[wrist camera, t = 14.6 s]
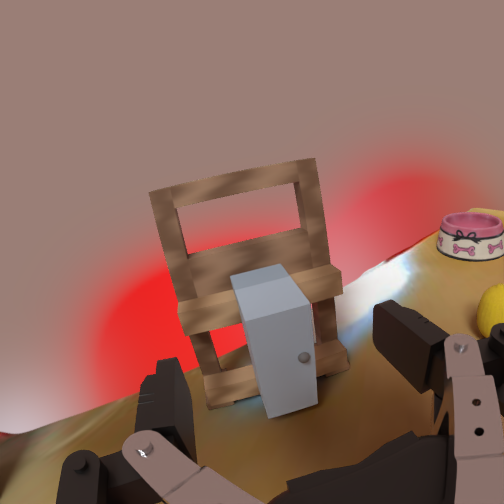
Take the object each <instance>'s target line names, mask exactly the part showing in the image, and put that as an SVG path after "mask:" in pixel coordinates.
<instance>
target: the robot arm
mask: <svg viewBox="0 0 504 504" xmlns="http://www.w3.org/2000/svg"><path fill="white" fill-rule="evenodd" d="M373 342H374V345H375V347H376V349H377V350H378V351H379V352H380V353H381V354H382V355H383V356H384V357H385V358H386V359H387V360H388V361H389V362H390V363H391V364H392V365H393V366H394V367H395V368H396V369H397V370H398V371H399V372H400V373H401V374H402V375H403V376H404V377H405V378H406V379H407V380H408V381H409V383H410V384H411V385H412V386H413V387H414V388H415V389H416V390H417V391H418V392H419V393H420V394H422V393H424V392H426V391H428V390H429V389H432V390H433V394H432V412H431V431H430V435H426V436H421V437H417V436H416V435H415V434H414V433H413V431H410V432H408V433H406V434H404V435H402V436H400V437H398V438H396V439H394V440H392V441H390V442H388V443H386V444H384V445H383V446H382V447H380V448H379V449H378V450H377V451H375V452H374V453H373V454H371V455H370V456H369V457H367V458H366V459H364V460H363V461H362V462H360V463H358V464H356V465H351V466H346V467H340V468H334V469H327V470H320V471H317V472H314V473H311V474H308V475H305V476H302V477H299V478H295V479H292V480H289V481H286V482H287V487H288V490H286V491H284V492H283V493H281V494H279V495H278V496H276V497H275V498H273V499H272V500H271V501H270V502H269V503H268V504H504V438H503V430H502V422H501V415H502V416H503V417H504V323H498V324H495V325H494V326H493V327H492V328H491V332H490V336H489V337H488V338H484V339H480V340H477V341H476V340H475V339H474V338H473V337H471V336H469V335H466V334H453V335H451V336H450V335H449V334H448V333H446V332H445V331H444V330H442V329H441V328H439V327H438V326H437V325H435V324H434V323H432V322H429V320H428V319H427V318H425V317H423V316H422V315H421V314H420V313H418V312H417V311H415V310H412V309H409V308H406V307H402V306H400V305H399V304H398V303H396V302H395V301H393V300H388V301H385V302H382V303H379V304H376V305H375V306H374V308H373ZM139 395H140V396H139V401H138V403H139V404H138V408H137V415H136V423H135V432H134V434H132V435H131V436H129V437H128V438H127V439H126V441H125V442H124V444H123V447H122V450H121V451H119V452H116V453H113V454H110V455H107V456H104V457H101V458H99V457H98V456H97V455H96V454H95V453H93V452H92V451H89V450H79V451H76V452H74V453H72V454H70V455H69V456H68V457H67V458H66V459H65V461H64V463H63V466H62V471H61V476H60V481H59V487H58V493H57V499H56V504H156V503H158V502H161V501H162V502H163V503H164V504H265V503H263V502H261V501H259V500H258V499H256V498H254V497H253V496H251V495H250V494H248V493H246V492H245V491H243V490H242V489H240V488H239V487H237V486H236V485H234V484H232V483H231V482H229V481H228V480H227V479H225V478H224V477H222V476H221V475H219V474H218V473H216V472H215V471H214V470H212V469H211V468H209V467H207V466H203V467H200V466H198V465H197V457H196V446H195V435H194V423H193V410H192V399H191V394H190V390H189V387H188V385H187V382H186V379H185V377H184V374H183V372H182V369H181V366H180V363H179V361H178V359H177V357H174V358H169V359H163V360H158V361H157V366H156V374H153V375H147V377H146V378H145V380H144V381H143V382H142V384H141V387H140V394H139ZM500 414H501V415H500Z"/></svg>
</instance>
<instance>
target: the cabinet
mask: <svg viewBox="0 0 504 504" xmlns="http://www.w3.org/2000/svg"><path fill="white" fill-rule="evenodd" d="M230 279H231V283H232V287H233V291H234V294H235V297H236V300H237V303H238V307H239V311H240V315H241V320H242V324H243V328H244V332H245V336H246V341H247V345H248V349H249V353H250V357H251V361H252V365H253V369H254V373H255V377H256V381H257V385H258V388H259V391H260V395H261V398H262V401H263V404H264V407H265V410H266V413H267V416H268V419H270V418H273V417H277V416H280V415H284V414H287V413H291V412H294V411H297V410H300V409H303V408H306V407H309V406H312V405H315V404H318V398H317V381H316V365H315V351H314V338H313V326H312V315H311V304H310V302H309V301H308V299H307V298H306V297H305V295H304V294H303V293H302V291H301V290H300V289H299V287H298V286H297V285H296V283H295V282H294V281H293V279H292V278H291V277H290V275H289V274H288V273H287V271H286V270H285V269H284V267H283V266H282V265H281V263H280V264H276V265H272V266H268V267H264V268H260V269H256V270H252V271H248V272H244V273H240V274H236V275H232V276H230Z"/></svg>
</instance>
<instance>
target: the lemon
mask: <svg viewBox="0 0 504 504" xmlns="http://www.w3.org/2000/svg"><path fill="white" fill-rule="evenodd" d="M498 323H504V285H503V284H502V283H499V284H498V285H494V286H492V287H490V288H488V289H487V290H486V291H485V292H484V294H483V296H482V298H481V300H480V303H479V306H478V310H477V325H478V328H479V331H480V332H481V334H482V335H483V336H484V337H486V338H488V337H489V336H490V332H491V328H492V327H493V326H494V325H495V324H498Z"/></svg>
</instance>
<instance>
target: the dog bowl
mask: <svg viewBox="0 0 504 504" xmlns="http://www.w3.org/2000/svg"><path fill="white" fill-rule="evenodd" d="M437 249H438V251H439V252H440V253H442V254H443V255H445V256H448V257H450V258H454V259H458V260H463V261H474V262H479V261H490V260H494V259H498V258H500V257H502V256H504V229H503V224H502V221H501V220H500V219H499V218H498V217H496V216H493V215H489V214H485V213H477V212H461V213H453V214H449V215H447V216H445V217H444V218H443V220H442V223H441V226H440V232H439V237H438V242H437Z"/></svg>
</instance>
